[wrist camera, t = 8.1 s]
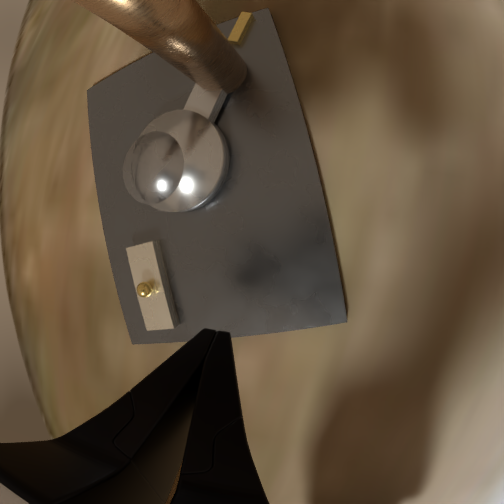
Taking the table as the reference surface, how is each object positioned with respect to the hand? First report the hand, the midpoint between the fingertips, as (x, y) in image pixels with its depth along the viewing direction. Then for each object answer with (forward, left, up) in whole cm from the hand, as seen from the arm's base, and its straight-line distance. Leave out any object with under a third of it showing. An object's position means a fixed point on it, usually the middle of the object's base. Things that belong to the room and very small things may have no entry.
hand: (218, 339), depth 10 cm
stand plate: (+8, -4, -9) cm, 13 cm away
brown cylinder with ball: (+8, -6, -8) cm, 13 cm away
